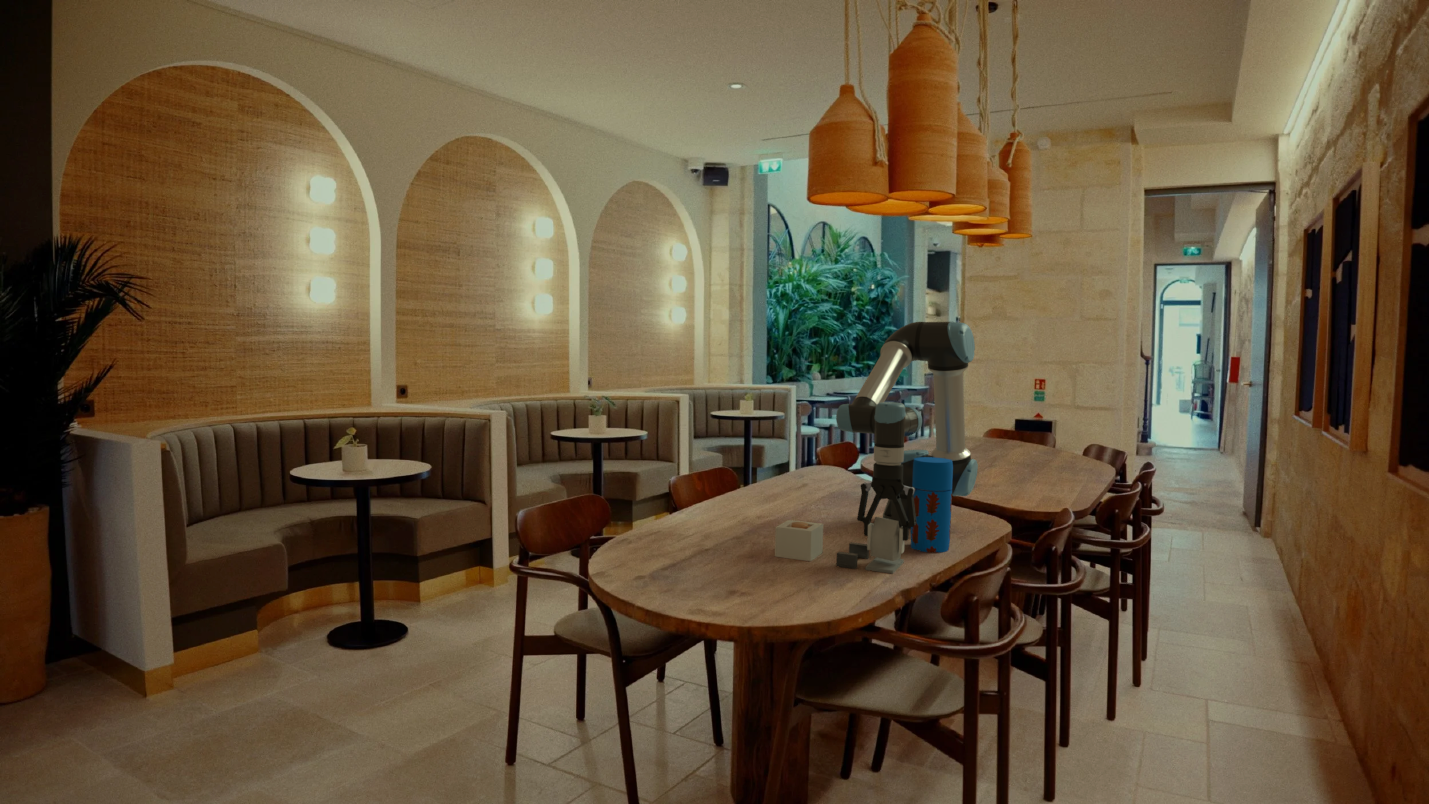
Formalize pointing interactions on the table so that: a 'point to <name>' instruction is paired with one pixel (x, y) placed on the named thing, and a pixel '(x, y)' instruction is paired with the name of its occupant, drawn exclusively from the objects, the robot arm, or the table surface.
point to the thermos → (932, 504)
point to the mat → (884, 565)
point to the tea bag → (885, 539)
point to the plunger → (800, 525)
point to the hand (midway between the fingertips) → (885, 550)
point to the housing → (799, 541)
